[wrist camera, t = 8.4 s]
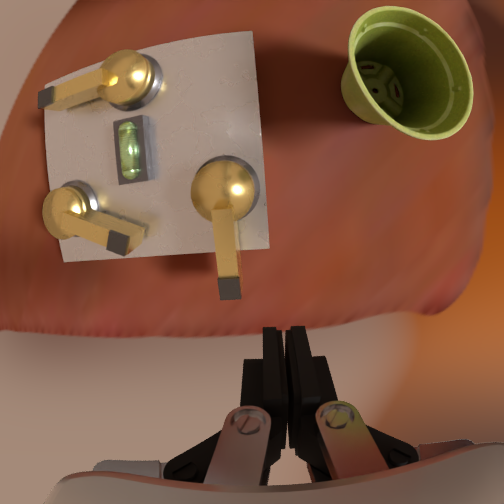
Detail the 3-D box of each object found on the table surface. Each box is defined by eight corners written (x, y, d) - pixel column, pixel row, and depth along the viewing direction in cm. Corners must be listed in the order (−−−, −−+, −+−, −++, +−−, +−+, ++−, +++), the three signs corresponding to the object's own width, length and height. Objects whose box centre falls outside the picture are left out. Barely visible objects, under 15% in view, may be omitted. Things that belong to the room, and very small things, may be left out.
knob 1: (52, 225, 23) (31, 234, 20) (59, 180, 22) (36, 185, 18) (138, 259, 24) (122, 274, 20) (149, 210, 22) (133, 219, 19)
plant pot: (335, 150, 23) (373, 147, 15) (307, 49, 20) (329, 4, 12) (426, 137, 22) (485, 136, 14) (400, 44, 19) (448, 13, 11)
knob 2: (193, 163, 21) (182, 165, 18) (252, 158, 21) (251, 157, 18) (208, 283, 24) (200, 302, 21) (261, 280, 24) (261, 299, 21)
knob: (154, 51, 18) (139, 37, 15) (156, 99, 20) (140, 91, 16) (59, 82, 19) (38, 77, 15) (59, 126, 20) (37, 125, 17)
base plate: (56, 87, 21) (30, 81, 17) (252, 39, 20) (251, 19, 16) (74, 255, 26) (51, 270, 22) (268, 241, 26) (270, 257, 21)
